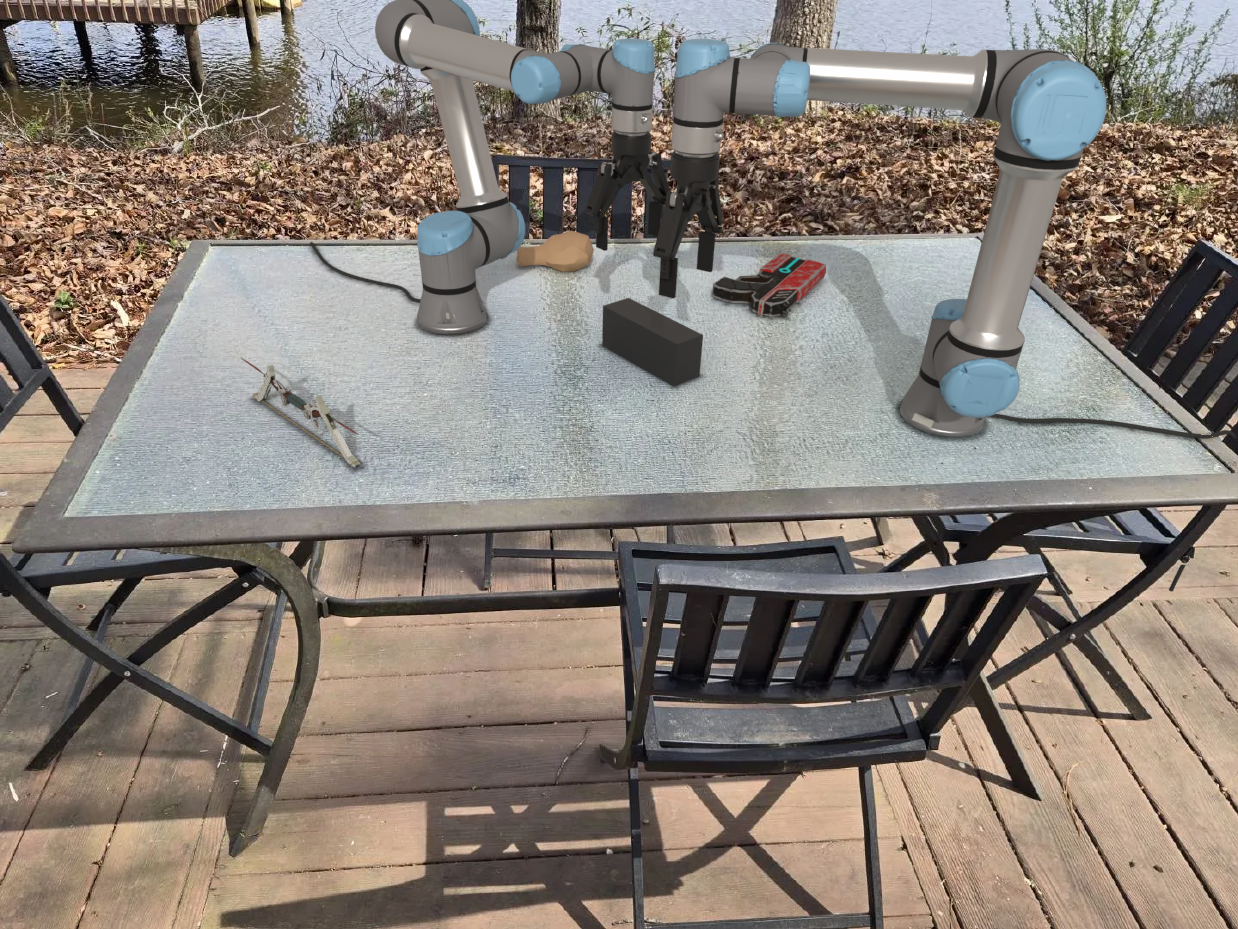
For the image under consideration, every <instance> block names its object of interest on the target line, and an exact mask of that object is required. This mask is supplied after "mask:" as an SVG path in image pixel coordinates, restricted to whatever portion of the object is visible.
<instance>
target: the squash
mask: <svg viewBox="0 0 1238 929" xmlns="http://www.w3.org/2000/svg"><path fill="white" fill-rule="evenodd" d="M594 251H595V249H594V246H593V243H592V241H591V239H590V236H589V235H587V234H584V233H581V232H578V231H575V230H568V231H565V232H562V233H557V234H553V235H551V236H549V238H547V239H546V240H545V241H544V242H543V243H541V244H540V245H534V246H520V248H519V249H518V250H517V251H516V252H517V253H516V260H515V261H516V263H517V265H518V266H519V267H521V268H522V267H528V266H546V267H550V268H552V269H554V270H556V271H559V272H561V273H564V272H565V273H566V272H567V273H569V272H577V271H578V270H579V271H580V270H581V269H583V268H585V267H586V266H589V265H590V263H591V262H592V258H593V254H594Z"/></svg>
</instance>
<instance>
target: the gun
mask: <svg viewBox="0 0 1238 929" xmlns="http://www.w3.org/2000/svg"><path fill="white" fill-rule="evenodd" d="M826 273H827V264H826V263H823V262H820V261H816V260H812V259H802V258H799V257H795V256H793V255H792V254H791V253H784V252H780V253H778V254H777V255H775V256H774V257H773V258H771V259H770V260H768V261H767V262H766V263H765V264H763V265H762V266H761V267H760V269H759V271H758V273H757V274H756V275H753V274H752V275H751V274H750V275H740V276H738V277H737V278H735V279H734V278H731V277H727V276H722V277H720V279H717V281H715V282H713V283H712V291H711V297H713V298H714V299H716V300H719V301H723V302H727V303H730V304H750V305H749V308H750V310H751V312H753V313H755V314H757V315H758V316H760V317H761V316H765V317H770V318H771V317H777V316H780V317H784V318H787V317H788V315H789V311H788V310H790V309H791V308H792V307H793V306H794V305H795V304H798V303H799V302H801V301H802V300H803V299H804V298H805V297H807V296H808V295H809V294H810V293H811V292H812V291H813V290H814V289H815V287H817V285H818V284H820V283H821V282H822V280H823V279H824V278H825V276H826Z"/></svg>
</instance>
